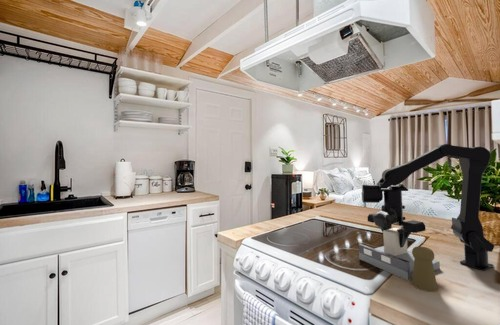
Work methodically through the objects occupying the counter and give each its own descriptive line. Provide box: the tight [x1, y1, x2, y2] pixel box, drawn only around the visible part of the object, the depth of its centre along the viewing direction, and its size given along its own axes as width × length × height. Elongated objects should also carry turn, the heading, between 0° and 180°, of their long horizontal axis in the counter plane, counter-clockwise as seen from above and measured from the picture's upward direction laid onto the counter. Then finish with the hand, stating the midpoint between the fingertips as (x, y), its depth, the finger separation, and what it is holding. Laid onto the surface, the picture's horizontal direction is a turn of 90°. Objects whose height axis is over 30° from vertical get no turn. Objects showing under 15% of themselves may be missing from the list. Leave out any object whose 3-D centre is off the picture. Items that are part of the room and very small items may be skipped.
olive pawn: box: [411, 245, 438, 292], centre depth 68 cm, size 6×6×11 cm
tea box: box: [382, 227, 408, 256], centre depth 87 cm, size 6×5×8 cm
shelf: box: [358, 243, 441, 281], centre depth 83 cm, size 16×18×6 cm
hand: (394, 245), depth 87 cm, fingers closed on tea box, 5 cm apart
